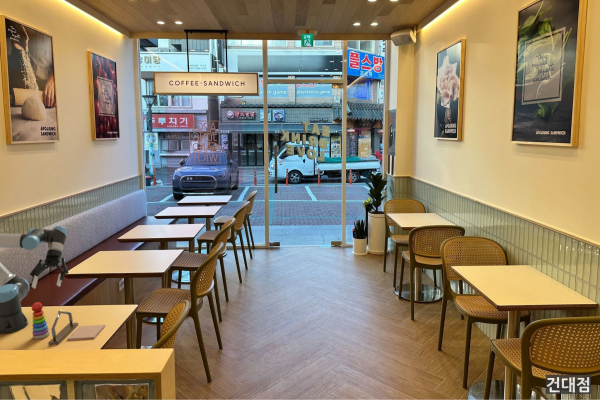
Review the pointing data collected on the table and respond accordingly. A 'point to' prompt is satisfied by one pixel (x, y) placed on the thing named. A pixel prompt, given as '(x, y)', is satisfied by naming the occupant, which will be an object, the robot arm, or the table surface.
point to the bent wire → (65, 331)
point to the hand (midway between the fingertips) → (45, 286)
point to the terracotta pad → (86, 332)
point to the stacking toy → (39, 322)
